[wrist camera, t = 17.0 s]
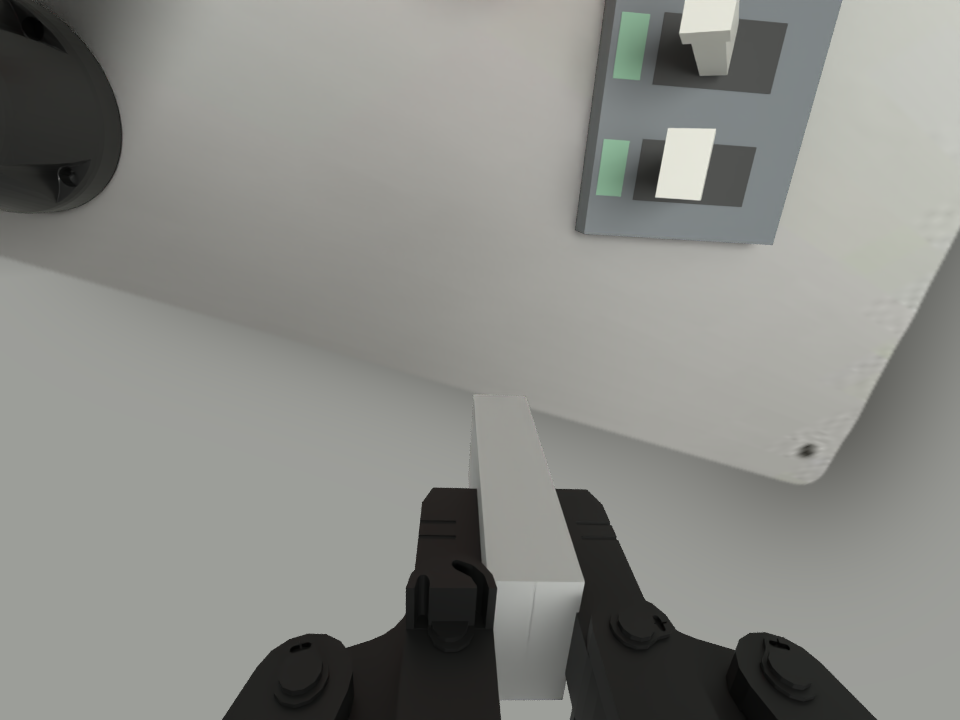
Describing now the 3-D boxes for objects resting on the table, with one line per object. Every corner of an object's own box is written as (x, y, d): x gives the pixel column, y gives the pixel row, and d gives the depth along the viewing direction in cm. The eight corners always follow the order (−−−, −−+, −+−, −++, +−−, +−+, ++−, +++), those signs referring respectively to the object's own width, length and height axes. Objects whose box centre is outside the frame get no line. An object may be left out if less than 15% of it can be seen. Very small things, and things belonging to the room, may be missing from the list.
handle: (694, 80, 34) (679, 33, 24) (706, 21, 32) (695, -54, 23) (731, 79, 33) (730, 30, 23) (744, 18, 31) (750, -62, 22)
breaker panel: (575, 229, 40) (584, 233, 37) (628, -172, 31) (645, -208, 28) (751, 240, 41) (773, 245, 38) (854, -145, 32) (893, -177, 29)
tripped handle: (671, 197, 36) (654, 197, 27) (681, 147, 35) (668, 127, 25) (704, 199, 35) (700, 200, 26) (715, 148, 34) (715, 128, 24)
